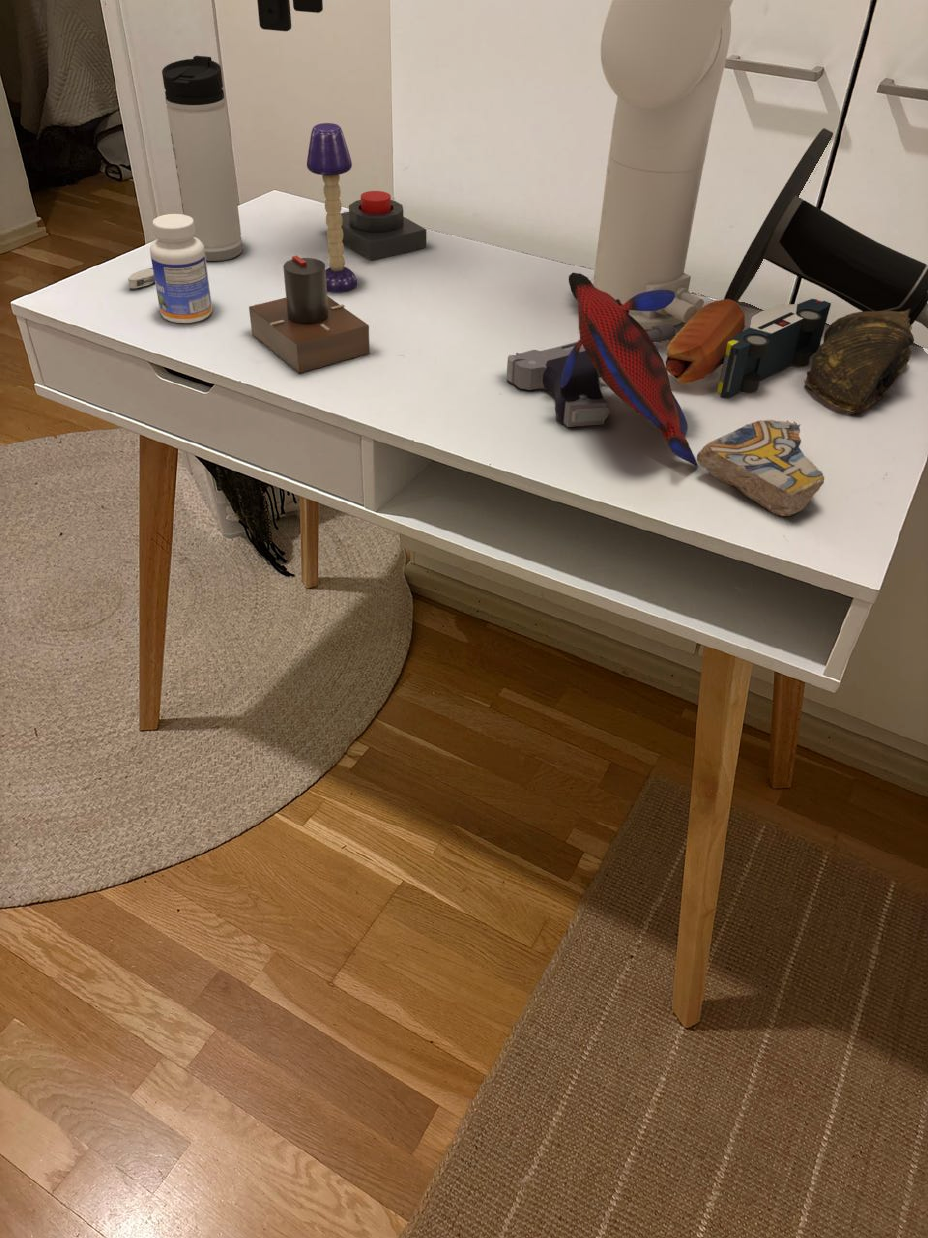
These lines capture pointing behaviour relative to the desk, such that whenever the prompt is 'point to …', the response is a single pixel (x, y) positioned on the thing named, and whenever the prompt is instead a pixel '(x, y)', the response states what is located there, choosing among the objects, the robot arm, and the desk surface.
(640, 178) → the robot arm
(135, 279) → the oval pebble
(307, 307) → the dimmer knob
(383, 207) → the button
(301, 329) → the dimmer panel
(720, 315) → the hot dog
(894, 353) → the seashell
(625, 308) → the fish
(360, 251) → the switch block
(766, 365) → the toy car
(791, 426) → the ceramic tile fragment
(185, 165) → the travel mug
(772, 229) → the black flanged spool
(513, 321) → the desk surface
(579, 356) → the handgun
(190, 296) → the pill bottle
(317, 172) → the toy lamp
